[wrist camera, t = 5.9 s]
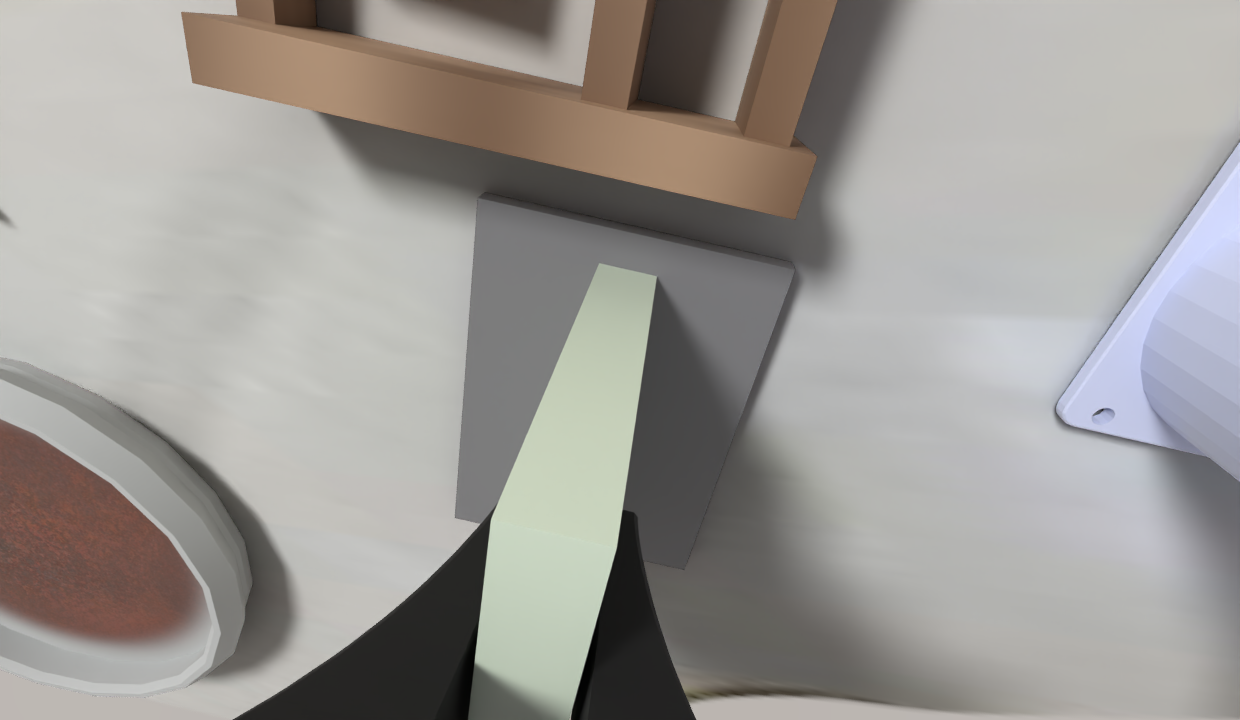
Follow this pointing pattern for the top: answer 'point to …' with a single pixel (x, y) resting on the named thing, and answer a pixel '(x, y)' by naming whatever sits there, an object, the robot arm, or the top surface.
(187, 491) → the frying pan
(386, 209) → the top surface
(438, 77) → the rack
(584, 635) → the board
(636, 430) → the mat
